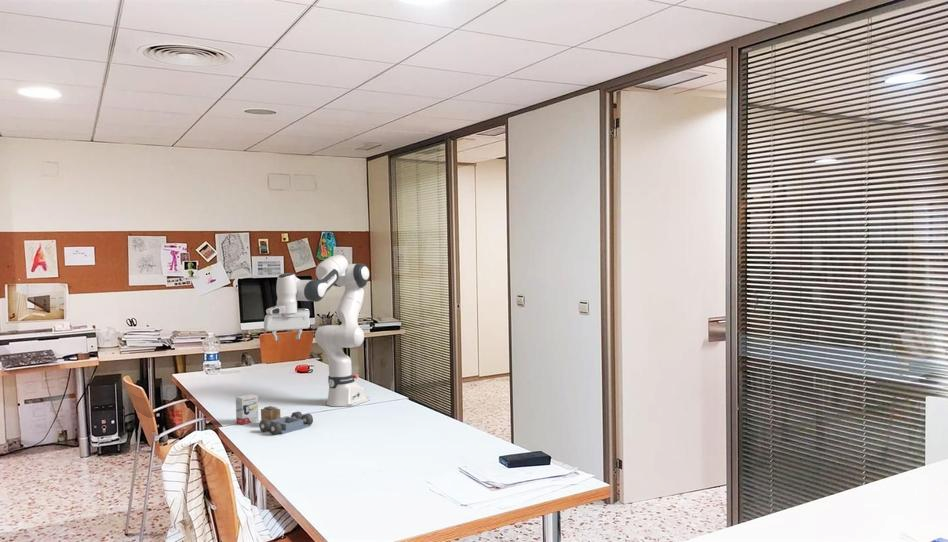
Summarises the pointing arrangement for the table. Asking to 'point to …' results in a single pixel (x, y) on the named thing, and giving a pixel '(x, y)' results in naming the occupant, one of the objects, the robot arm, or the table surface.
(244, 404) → the ink box
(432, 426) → the table surface
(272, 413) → the brown box
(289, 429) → the chassis
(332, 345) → the robot arm
